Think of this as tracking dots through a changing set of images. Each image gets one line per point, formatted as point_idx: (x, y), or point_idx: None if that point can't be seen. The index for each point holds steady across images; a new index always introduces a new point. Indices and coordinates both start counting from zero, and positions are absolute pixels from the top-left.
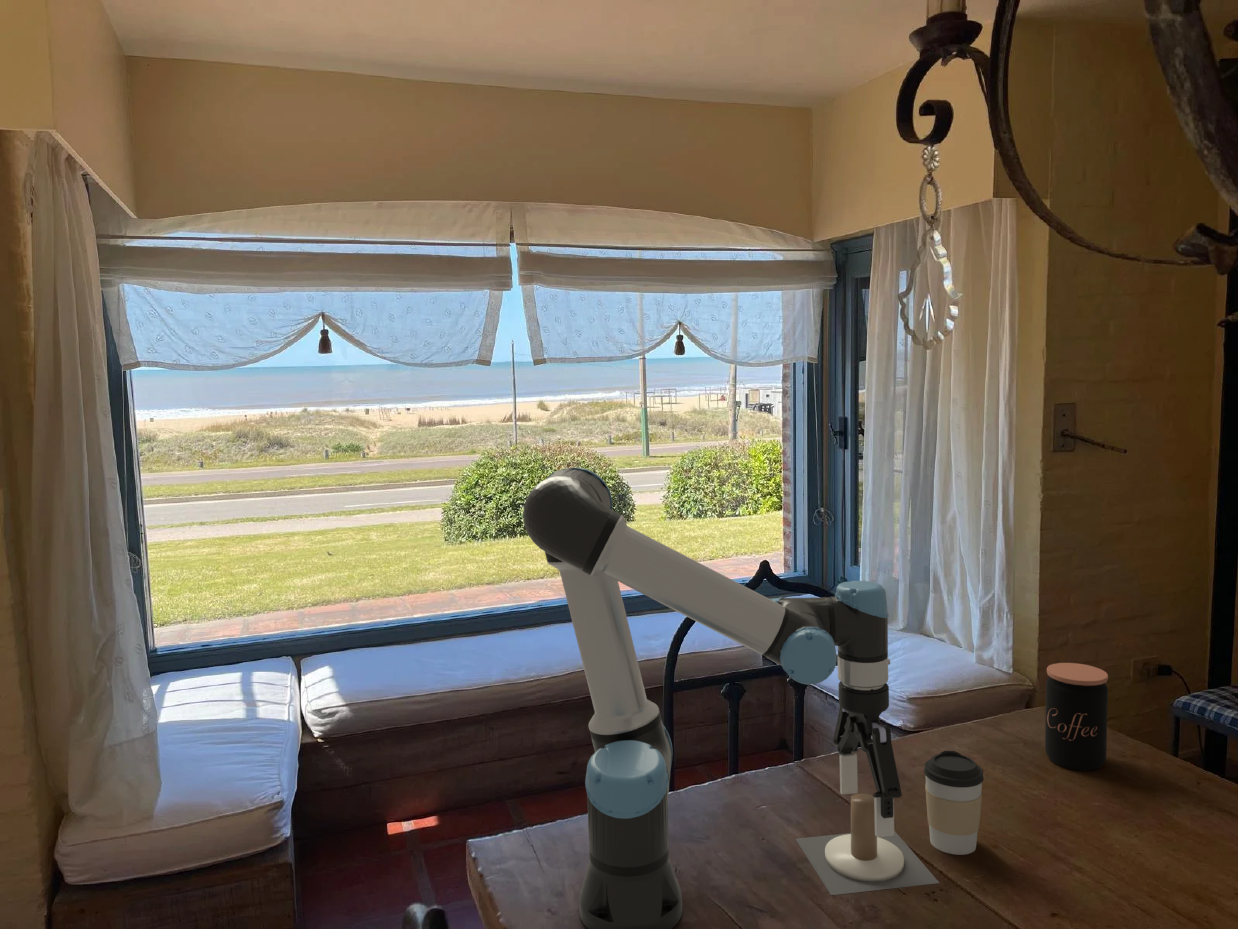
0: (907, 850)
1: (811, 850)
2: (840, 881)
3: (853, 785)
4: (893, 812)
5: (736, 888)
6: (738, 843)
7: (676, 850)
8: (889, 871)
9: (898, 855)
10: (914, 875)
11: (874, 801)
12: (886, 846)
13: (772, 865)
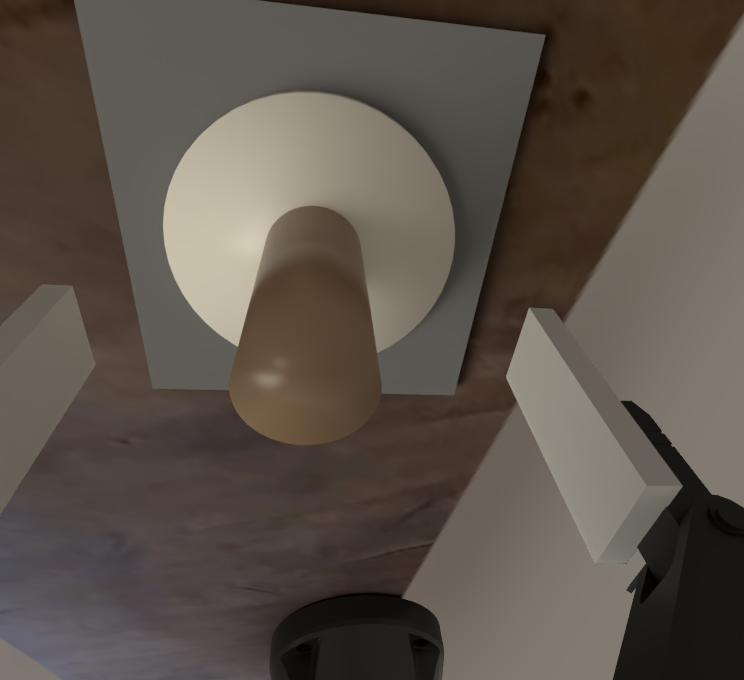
0: (283, 25)
1: (228, 369)
2: (407, 355)
3: (55, 336)
4: (609, 389)
5: (339, 524)
6: (148, 491)
7: (173, 582)
8: (445, 219)
9: (359, 127)
10: (463, 112)
11: (574, 515)
12: (280, 140)
13: (265, 452)
